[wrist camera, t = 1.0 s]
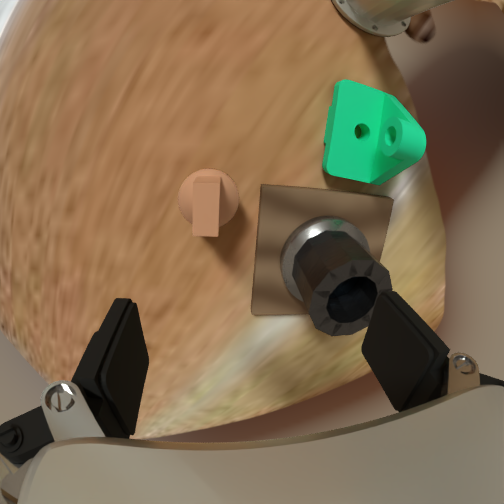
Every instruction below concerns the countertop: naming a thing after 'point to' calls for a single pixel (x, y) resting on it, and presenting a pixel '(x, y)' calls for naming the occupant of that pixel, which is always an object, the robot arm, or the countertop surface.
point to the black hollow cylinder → (333, 274)
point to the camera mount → (370, 135)
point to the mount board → (293, 215)
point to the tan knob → (208, 200)
